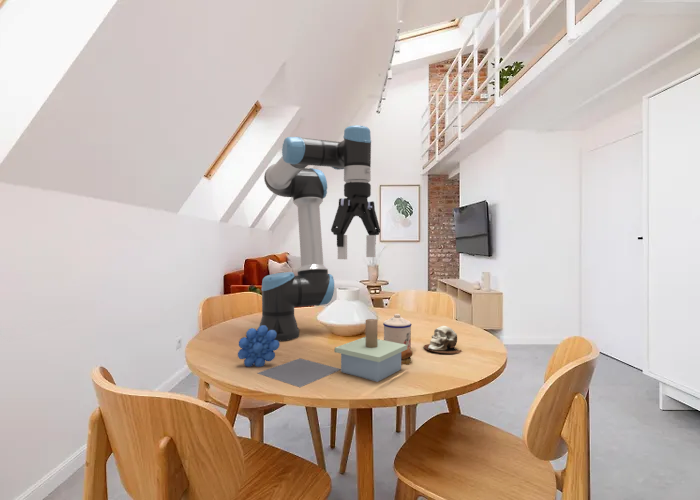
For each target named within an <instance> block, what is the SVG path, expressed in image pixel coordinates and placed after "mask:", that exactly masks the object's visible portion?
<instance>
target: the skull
mask: <svg viewBox="0 0 700 500" xmlns="http://www.w3.org/2000/svg"><path fill="white" fill-rule="evenodd" d="M457 342H458V334H457V333H456V332H455V331H454V330H453V328H451V327H450V326H447V325H441V326H439V327H437V328H435V329H434V334H433V335H432V336H431V339H430V343H428V344H424V345H423V348H424V349H425V350H426V351H429V352H434V353H441V354H447V355H448V354H449V355H452V354H460V353H461V352H463V351H462V349H460V350H459V349H458V348H455V347H456V345H457Z"/></svg>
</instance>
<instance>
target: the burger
mask: <svg viewBox="0 0 700 500" xmlns="http://www.w3.org/2000/svg"><path fill="white" fill-rule="evenodd" d="M412 356H413V351H412V348H411V349H410V348H409V347H407V350H405V351H402V352H401V366H403V365H405V366H409V365H410V364H411V362H412V358H411V357H412Z"/></svg>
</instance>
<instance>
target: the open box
mask: <svg viewBox="0 0 700 500" xmlns="http://www.w3.org/2000/svg"><path fill="white" fill-rule="evenodd" d="M340 360H341V361H340V366H341V367H340V369H341V370H340V373H343V374H346V375H351V376H354V377H357V378H362V379H365V380H369V381H373V382H375V383H376V382H377V383H378V382H380V381H382V380H385V379H386V378H388V377H390V376H392V375H393V374H395V373H397V372H398V371H401V370H402V365H401V352H400V353H398V354H396V355H394V356H392V357H389V358H387V359H385V360H383V361H381V362H376V361H371V360H367V359H363V358H358V357H354V356H350V355H345V354H341V353H340Z"/></svg>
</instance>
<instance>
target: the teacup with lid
mask: <svg viewBox="0 0 700 500" xmlns="http://www.w3.org/2000/svg"><path fill="white" fill-rule="evenodd" d="M382 325H383V340H384V341H390V342H395V343H400V344H406V345H407V347H409V348H410V349H411V350H412V348H411V347H412V346H411V345H412V344H411V343H412V341H411V340H412V339H411V337H412V335H411V333H412V332H411V329H412V322H411V321H410V320H408V319H406V318H404V317H402V316H401V314H400V313H394V314H393V316H392V317H391V318H389V319H386V320H384V321H383V324H382Z"/></svg>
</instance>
